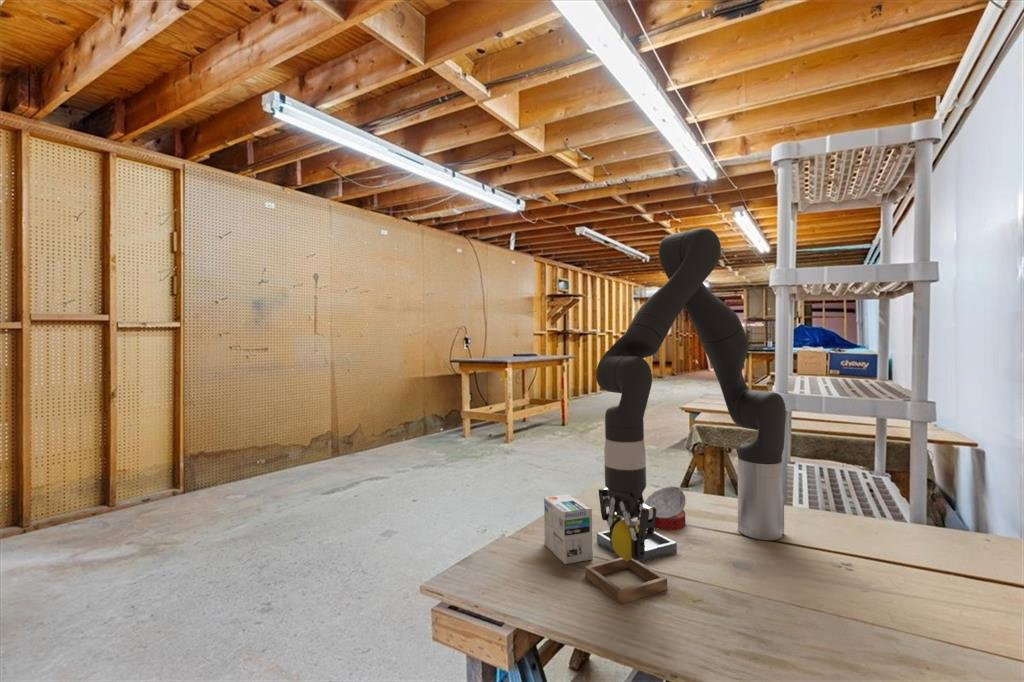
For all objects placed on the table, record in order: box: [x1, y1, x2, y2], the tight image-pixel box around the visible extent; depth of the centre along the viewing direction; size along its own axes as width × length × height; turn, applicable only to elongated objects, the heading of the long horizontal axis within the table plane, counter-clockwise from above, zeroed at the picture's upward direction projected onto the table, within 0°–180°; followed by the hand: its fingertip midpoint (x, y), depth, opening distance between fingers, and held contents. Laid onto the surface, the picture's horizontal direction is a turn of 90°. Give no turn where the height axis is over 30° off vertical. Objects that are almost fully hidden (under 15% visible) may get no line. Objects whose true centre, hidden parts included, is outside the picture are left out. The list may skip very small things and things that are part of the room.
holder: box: [584, 557, 668, 605], centre depth 90 cm, size 11×11×2 cm
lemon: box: [611, 518, 639, 561], centre depth 90 cm, size 6×6×8 cm
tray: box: [596, 529, 678, 564], centre depth 106 cm, size 12×12×2 cm
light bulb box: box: [543, 493, 594, 565], centre depth 104 cm, size 11×7×11 cm, turn 20°
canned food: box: [644, 485, 686, 531], centre depth 120 cm, size 11×10×10 cm
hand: (626, 551), depth 91 cm, fingers closed on lemon, 5 cm apart
